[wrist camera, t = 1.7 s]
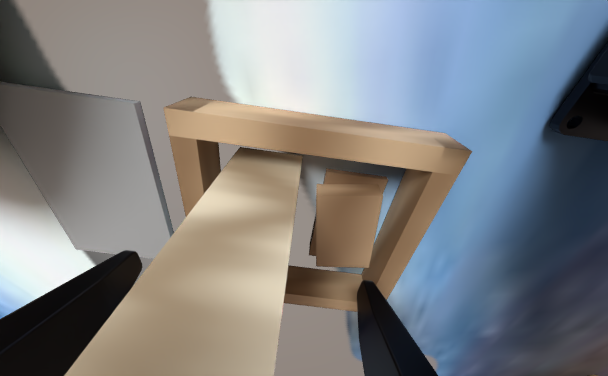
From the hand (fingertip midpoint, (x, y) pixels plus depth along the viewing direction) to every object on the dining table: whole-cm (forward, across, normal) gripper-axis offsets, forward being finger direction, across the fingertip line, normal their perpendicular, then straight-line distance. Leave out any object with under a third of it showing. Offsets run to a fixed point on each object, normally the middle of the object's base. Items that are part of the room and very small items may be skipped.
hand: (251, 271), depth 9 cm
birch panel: (+4, 0, 0) cm, 4 cm away
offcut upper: (+4, -4, 0) cm, 6 cm away
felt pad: (+4, +9, 0) cm, 10 cm away
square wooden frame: (+4, -2, 0) cm, 5 cm away
